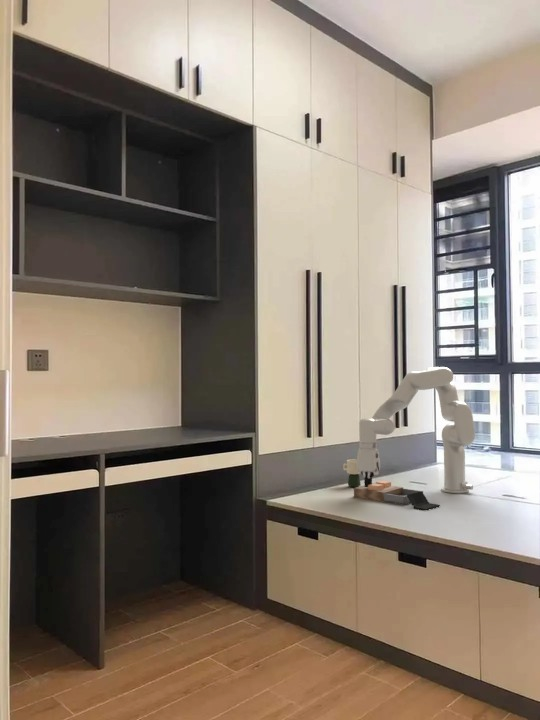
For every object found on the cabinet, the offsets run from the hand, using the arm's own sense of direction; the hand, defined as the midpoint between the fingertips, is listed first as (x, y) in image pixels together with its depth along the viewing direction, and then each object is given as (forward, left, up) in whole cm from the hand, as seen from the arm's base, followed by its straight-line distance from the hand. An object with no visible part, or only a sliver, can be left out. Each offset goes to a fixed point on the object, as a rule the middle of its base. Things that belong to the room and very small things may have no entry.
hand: (368, 486), depth 280 cm
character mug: (+19, -16, -5) cm, 25 cm away
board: (-3, -4, -5) cm, 7 cm away
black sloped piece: (-29, +2, -5) cm, 29 cm away
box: (-16, -4, -5) cm, 17 cm away
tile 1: (-4, 0, -1) cm, 4 cm away
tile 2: (-3, -8, -1) cm, 9 cm away
